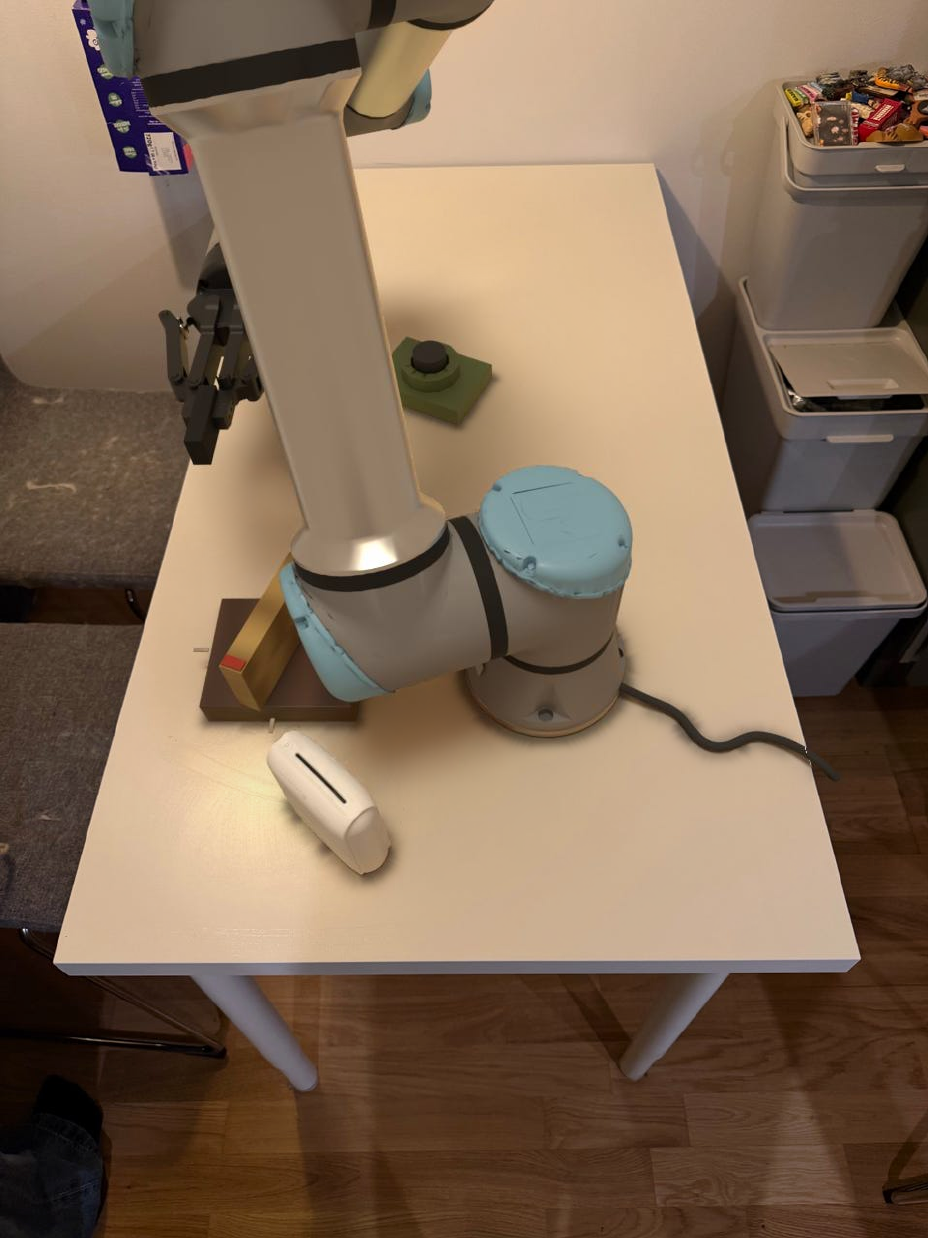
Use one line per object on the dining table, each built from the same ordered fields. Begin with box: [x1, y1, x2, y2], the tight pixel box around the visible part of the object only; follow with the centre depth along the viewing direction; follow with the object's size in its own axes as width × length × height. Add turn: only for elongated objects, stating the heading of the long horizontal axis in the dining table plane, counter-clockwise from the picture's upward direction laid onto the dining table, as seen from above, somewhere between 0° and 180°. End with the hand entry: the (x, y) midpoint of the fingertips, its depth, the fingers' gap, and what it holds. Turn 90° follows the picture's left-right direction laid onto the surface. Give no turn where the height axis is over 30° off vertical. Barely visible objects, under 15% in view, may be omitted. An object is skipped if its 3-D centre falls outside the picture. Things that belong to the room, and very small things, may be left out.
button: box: [412, 340, 447, 374], centre depth 99 cm, size 4×4×2 cm
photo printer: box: [266, 730, 392, 876], centre depth 68 cm, size 10×4×12 cm, turn 46°
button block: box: [391, 336, 493, 426], centre depth 101 cm, size 12×9×4 cm
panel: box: [192, 597, 359, 734], centre depth 81 cm, size 17×17×3 cm
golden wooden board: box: [219, 551, 301, 711], centre depth 76 cm, size 13×2×7 cm, turn 159°
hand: (197, 453), depth 68 cm, fingers closed
